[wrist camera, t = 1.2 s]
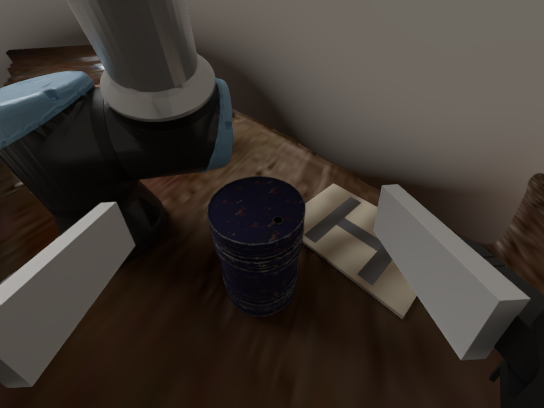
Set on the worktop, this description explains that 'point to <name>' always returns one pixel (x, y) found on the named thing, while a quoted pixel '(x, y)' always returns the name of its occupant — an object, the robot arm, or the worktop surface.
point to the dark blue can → (258, 241)
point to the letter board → (355, 246)
